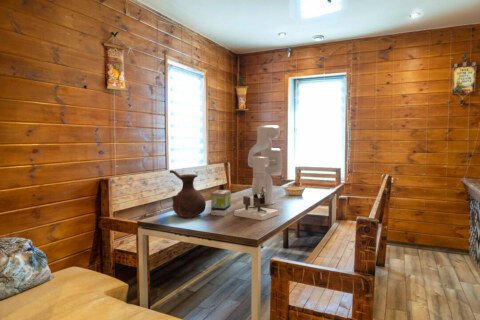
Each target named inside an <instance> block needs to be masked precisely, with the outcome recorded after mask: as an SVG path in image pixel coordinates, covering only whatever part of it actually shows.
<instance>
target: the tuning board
mask: <svg viewBox="0 0 480 320" xmlns="http://www.w3.org/2000/svg"><path fill="white" fill-rule="evenodd" d="M249 207H255V206H254V205H250V206H249ZM260 209H263V210H266V212H264V211H261V210H260V211H258V208H248V209H247V210H246V209H245V207H243V208H240V209H236V210H234V214H233V215H234V216H236V217H240V218H241V217H242V218H246V219H252V220H259V221H265V220H267V219H271V218H273V217H276V216H279V210H278V209H274V208H266V207H262V206H260Z"/></svg>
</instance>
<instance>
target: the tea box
mask: <svg viewBox="0 0 480 320" xmlns="http://www.w3.org/2000/svg"><path fill="white" fill-rule="evenodd" d="M231 193H232V190H228V189H222V190H221V189H217V190H215V191H212V192H211V195H210V197H211V199H210V200H211V201H210V202H211V204H210V205H211V206H210V215H211V216H221V217H224V216H226V215H228V213H230V212H231V210H232V209H231V208H232V207H231V206H232V205H231V204H232V203H231V201H232V200H231V199H232V198H231V197H232V194H231Z"/></svg>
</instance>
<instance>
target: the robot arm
mask: <svg viewBox="0 0 480 320" xmlns="http://www.w3.org/2000/svg"><path fill="white" fill-rule="evenodd" d="M256 134H257V137H256V144H254V145H253V146H252V147H251V148H250V149H249V152H248V155H247V164H248V167H250V168H252V170H253V171H252V183H251V184H252V185H251V192H252V195H253V199H252V200H253V202H254V198H260V197H261V198H260V204H264V206H265V205H267V206H268V205H269V206H270V205H275V201H274V200H276V196H274V195H273V192H274V190H273V189H274V187H273V186H274V185H273V178H272V177H271V176H281V175H282V172H283V152H282V150H281V148H276V147H275V148H273V141H272V139H278V138H279V137H280V135H281V128H280V126H279V125H259V126H258V127H257V128H256ZM257 153H260V154H261V155H256V154H257Z"/></svg>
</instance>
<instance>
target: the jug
mask: <svg viewBox="0 0 480 320" xmlns="http://www.w3.org/2000/svg"><path fill="white" fill-rule="evenodd" d="M170 173H171V174H174V175H175V176H176V177H177V178H178V179H179V180H180V181H181V182H182V187H181V190H180V191H178V193H177V194H176V195H173V196H171V198H172V199H171V200H172V210H173V213H175V215H177V216H179V217H181V218H186V219H188V218H189V219H190V218H196V217H198V216H200V215H201V214H202V213H204V212H205V209H206V205H207V202H206V200H205V197H204V196H203V195H202V193H200V192H199V191H198V190H197V189H196V188H195V187H194V182H195V179H196V178H197V177H199V176H198V174H179V172H177V171H175V170H173V169H171V170H169V174H170Z"/></svg>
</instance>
